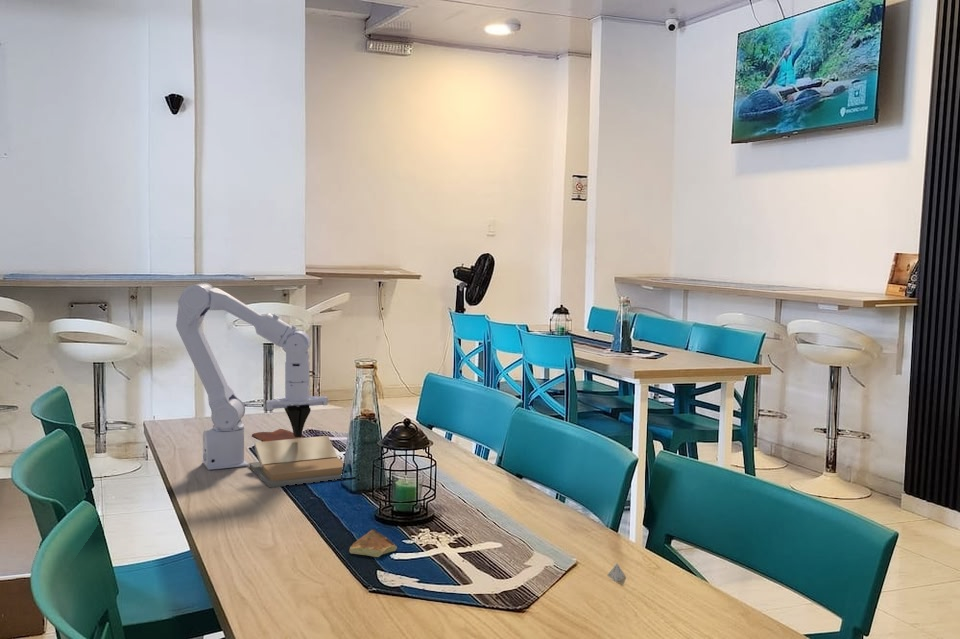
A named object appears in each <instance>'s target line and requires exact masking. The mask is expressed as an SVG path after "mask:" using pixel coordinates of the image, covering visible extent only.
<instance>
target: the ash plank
mask: <svg viewBox="0 0 960 639" xmlns="http://www.w3.org/2000/svg"><path fill="white" fill-rule="evenodd" d="M253 449H254V452H255V453H256V457H257V459H258V462H259V463H260V466H261V468H262V469H263V465H272V464H282V463H292V462H302V461H311V460H321V459H331V458H339V457H338V454H337V452H336V450H335V448H334V445H333V444H332V441H331V439H330V437H329V436H328V435H321V436H311V437H310V436H309V437H303V438H298V439H287V440H276V441H265V442H264V441H255V442H254V446H253Z"/></svg>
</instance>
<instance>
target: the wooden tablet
mask: <svg viewBox="0 0 960 639" xmlns="http://www.w3.org/2000/svg"><path fill="white" fill-rule="evenodd" d="M251 436H253V437H254V438H255V439H258V440H259V441H260V442H265V441H276V440H287V439H298V438H304V437H303V436H301V437H294V434H293V431H290V430H288V429H283V428H282V429H281V428H279V429H276V430H274V431H260V432H258V431H257V432H253V433H252V434H251Z"/></svg>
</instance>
